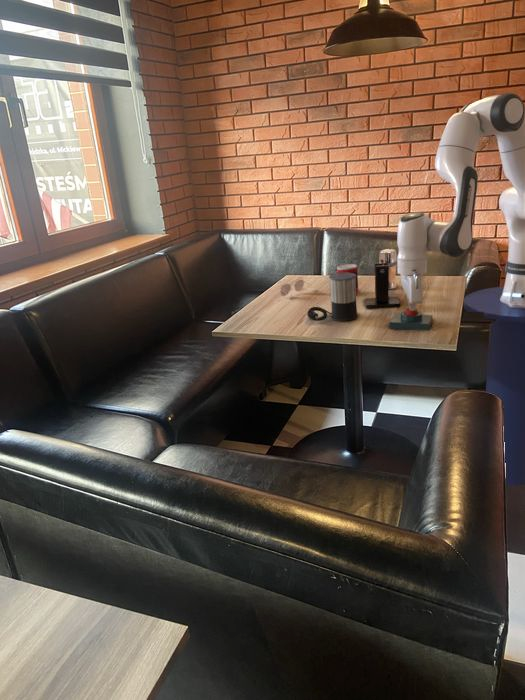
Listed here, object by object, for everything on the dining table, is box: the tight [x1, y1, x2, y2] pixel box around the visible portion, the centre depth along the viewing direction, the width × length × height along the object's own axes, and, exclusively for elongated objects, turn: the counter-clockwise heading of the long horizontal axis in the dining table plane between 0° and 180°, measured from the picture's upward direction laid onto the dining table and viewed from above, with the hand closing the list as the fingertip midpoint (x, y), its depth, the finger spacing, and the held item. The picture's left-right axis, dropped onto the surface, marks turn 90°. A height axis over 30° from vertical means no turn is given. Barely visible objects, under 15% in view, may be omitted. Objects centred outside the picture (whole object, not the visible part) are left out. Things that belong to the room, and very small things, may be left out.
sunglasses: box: [279, 279, 318, 300], centre depth 219 cm, size 14×8×5 cm, turn 127°
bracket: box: [364, 262, 401, 309], centre depth 195 cm, size 12×9×15 cm
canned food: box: [336, 263, 359, 295], centre depth 214 cm, size 8×8×11 cm
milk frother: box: [306, 273, 359, 322], centre depth 185 cm, size 14×16×15 cm
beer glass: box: [378, 248, 398, 290], centre depth 215 cm, size 7×7×15 cm
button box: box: [389, 310, 434, 331], centre depth 172 cm, size 12×9×4 cm
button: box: [405, 307, 418, 315], centre depth 171 cm, size 4×4×2 cm
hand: (411, 309), depth 171 cm, fingers closed, pressing on button
